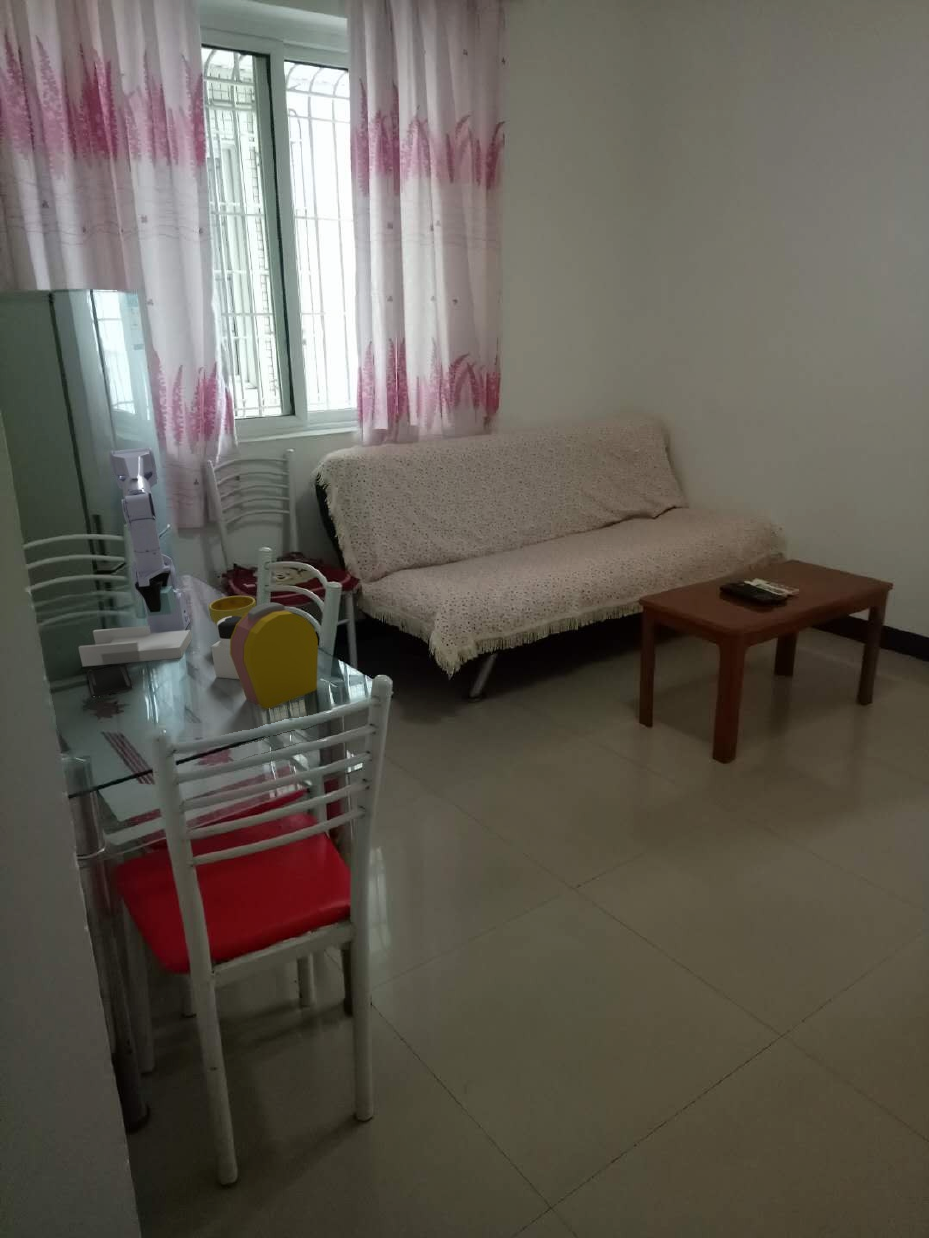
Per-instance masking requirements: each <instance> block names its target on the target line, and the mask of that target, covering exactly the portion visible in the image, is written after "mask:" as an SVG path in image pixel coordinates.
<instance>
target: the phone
mask: <svg viewBox="0 0 929 1238" xmlns="http://www.w3.org/2000/svg"><path fill="white" fill-rule="evenodd" d="M86 675H87V681H89V682H88V684H89V688H90V693H91V696H92V695H93V696H95V697H99V696H104V697H106V696H105V695H108V696H110V695H109V694H113V693H117V694H120V693H126V692H129V691H132V690H133V688H134V687H133V683H132V681H131V677H130V675H129V672H128V669H127V666H126V663H117V664H110V665H107V666H102V667H101V666H100V667H97V668H93V669H89V670H88V671H86ZM99 698H100V697H99Z"/></svg>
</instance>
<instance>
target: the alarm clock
mask: <svg viewBox="0 0 929 1238" xmlns="http://www.w3.org/2000/svg"><path fill="white" fill-rule="evenodd" d="M318 652H319V639H318V635H317V633H316V630H315V627H314V626H313V625H312V624H311V623H310V622H309V620H308V619H307V618H306V617H303V616H301V615H298V614H296V613H293V612H291V611H288V610H286V609H285V605H284V604H281V603H279V602H273V601H272V602H264V603H260V604H258V605H257V604H256V606H255V607H254V608H252V609H251V610H250V611H249V612H248V613H246V614H245V615H244V616H243V617H242V619H241V620H240V621H239V622H238V623H237V624H236V626H235V629H234V631H233V634H232V636H231V639H230V655H231V658H232V660H233V663H234V665H235V668H236V671H237V673H238V676H239V679H238V680H239V682H240V684H241V687H242V690H243V692H244V695H245V698H246V699H247V700H248V701H250V702H251V703H254V704H256V705H258V706H259V707H261V708H263V709H265V710H266V711H267V710H268V709H269V710H270V709H271V708H275V707H277V706H279V705H282V704H284V703H287V702H290V701H292V700H295V699H297V698H299V697H302V696H305V695H307V694H310V693H312V692H314V691H315V692H316V691H317V689H318V688H317V687H318V686H317V685H318V659H319V658H318V655H319V653H318Z"/></svg>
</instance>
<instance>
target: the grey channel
mask: <svg viewBox="0 0 929 1238" xmlns="http://www.w3.org/2000/svg"><path fill="white" fill-rule="evenodd" d="M92 634H93V638H94V642H95V644H89V645H88V644H87V645H79V646H78V653H79V656H80V661H81V665H82V668H83V667H93V666H105V665H115V664H120V663H124V664H126V663H138V662H147V661H148V662H149V661H159V660H171V659H180V658H183V656H184V654H186V653H185V652H186V651H187V649H188V647H189V645H190V644H191V642H192V640H193V639H192V633H191V629H187V630H186V629H185V630H184V631H172V632H161V633H151V631H150V626H149V625H148V624H147V625H138V626H128V627H127V626H125V627H113V628H105V629H94V630H93V631H92Z"/></svg>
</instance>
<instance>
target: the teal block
mask: <svg viewBox="0 0 929 1238" xmlns="http://www.w3.org/2000/svg"><path fill="white" fill-rule="evenodd" d="M173 590H174V589H173V586H166V587H161V593H160V599H161V610H160V612H150V610H149V608H148V606H147V604H146V608H147V613H148V616H154V615H167V614H172V612H173V611H174V609H175V608H176V603H175V598H174V592H175V591H174V592H173Z"/></svg>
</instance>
